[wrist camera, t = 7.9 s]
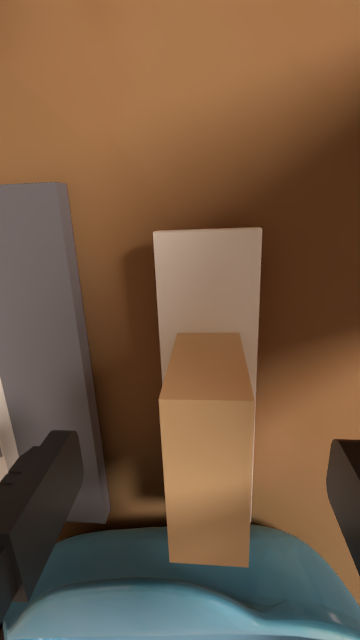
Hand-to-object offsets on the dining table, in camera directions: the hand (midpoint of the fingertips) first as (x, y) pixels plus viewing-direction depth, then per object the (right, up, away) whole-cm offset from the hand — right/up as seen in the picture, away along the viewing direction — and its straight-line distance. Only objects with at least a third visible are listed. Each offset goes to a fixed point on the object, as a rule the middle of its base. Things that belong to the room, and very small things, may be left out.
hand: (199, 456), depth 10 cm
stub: (+1, +1, +5) cm, 5 cm away
